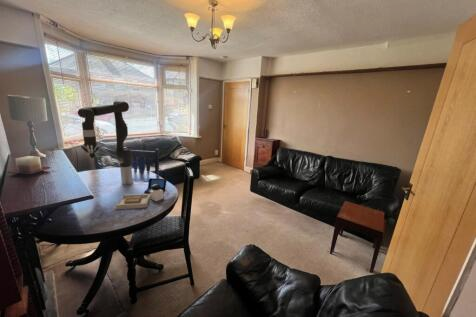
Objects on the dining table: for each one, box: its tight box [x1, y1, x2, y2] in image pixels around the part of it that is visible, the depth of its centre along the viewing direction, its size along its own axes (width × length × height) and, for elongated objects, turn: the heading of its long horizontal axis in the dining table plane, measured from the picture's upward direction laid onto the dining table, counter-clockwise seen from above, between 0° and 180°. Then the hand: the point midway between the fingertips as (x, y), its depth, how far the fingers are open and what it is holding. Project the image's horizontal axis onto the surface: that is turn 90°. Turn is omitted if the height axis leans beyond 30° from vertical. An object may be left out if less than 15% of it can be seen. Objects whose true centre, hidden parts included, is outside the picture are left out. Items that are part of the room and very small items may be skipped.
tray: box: [114, 193, 151, 210], centre depth 155 cm, size 17×21×3 cm
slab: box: [124, 196, 142, 204], centre depth 155 cm, size 8×3×10 cm
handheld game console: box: [143, 177, 167, 194], centre depth 177 cm, size 16×13×9 cm
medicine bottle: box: [150, 184, 164, 202], centre depth 162 cm, size 7×7×12 cm
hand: (92, 157), depth 155 cm, fingers closed
